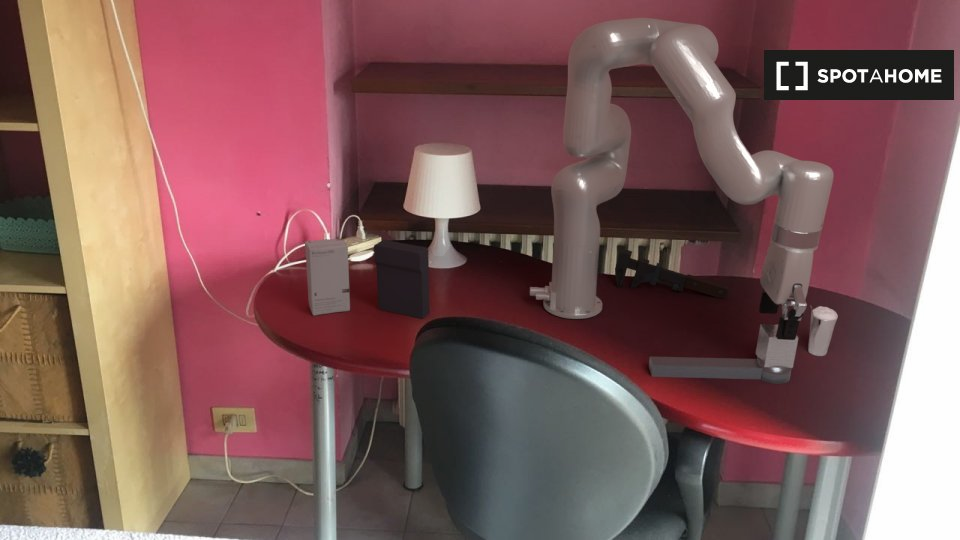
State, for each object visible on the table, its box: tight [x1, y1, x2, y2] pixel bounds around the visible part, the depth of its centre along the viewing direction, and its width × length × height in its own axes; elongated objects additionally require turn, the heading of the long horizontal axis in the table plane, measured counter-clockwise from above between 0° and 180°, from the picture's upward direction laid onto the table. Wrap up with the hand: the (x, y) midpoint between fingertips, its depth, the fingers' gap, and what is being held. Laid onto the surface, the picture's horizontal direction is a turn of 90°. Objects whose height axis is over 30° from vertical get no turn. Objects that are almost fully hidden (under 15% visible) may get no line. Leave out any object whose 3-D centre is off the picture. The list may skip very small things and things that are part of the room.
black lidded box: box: [373, 239, 431, 320], centre depth 158 cm, size 11×4×15 cm, turn 65°
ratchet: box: [648, 356, 793, 385], centre depth 137 cm, size 25×6×6 cm, turn 88°
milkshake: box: [807, 304, 839, 357], centre depth 144 cm, size 5×5×10 cm
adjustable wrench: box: [614, 248, 730, 300], centre depth 171 cm, size 8×3×25 cm
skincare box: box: [304, 238, 351, 317], centre depth 159 cm, size 8×6×15 cm
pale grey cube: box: [755, 323, 799, 369], centre depth 135 cm, size 5×5×6 cm
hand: (776, 325), depth 134 cm, fingers open, 9 cm apart
